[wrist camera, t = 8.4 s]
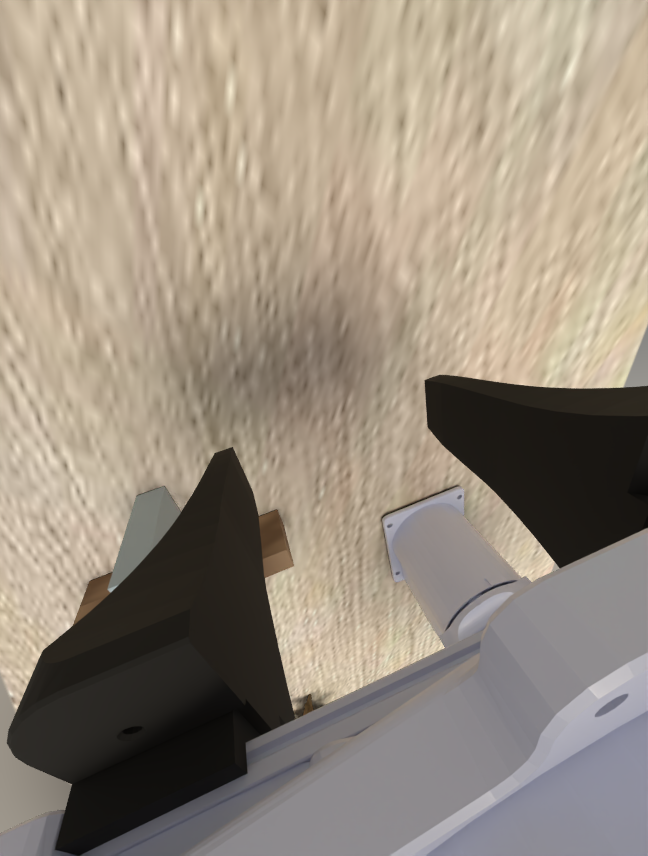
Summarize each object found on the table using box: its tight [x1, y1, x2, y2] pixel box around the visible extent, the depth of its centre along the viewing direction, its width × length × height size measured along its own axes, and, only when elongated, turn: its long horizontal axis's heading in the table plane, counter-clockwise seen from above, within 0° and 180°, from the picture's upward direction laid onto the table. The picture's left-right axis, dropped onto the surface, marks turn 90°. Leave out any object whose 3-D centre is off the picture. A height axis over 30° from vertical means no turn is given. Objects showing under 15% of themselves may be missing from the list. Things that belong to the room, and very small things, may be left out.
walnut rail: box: [73, 510, 294, 625], centre depth 23 cm, size 14×2×4 cm, turn 103°
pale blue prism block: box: [107, 486, 181, 593], centre depth 22 cm, size 12×2×7 cm, turn 13°
